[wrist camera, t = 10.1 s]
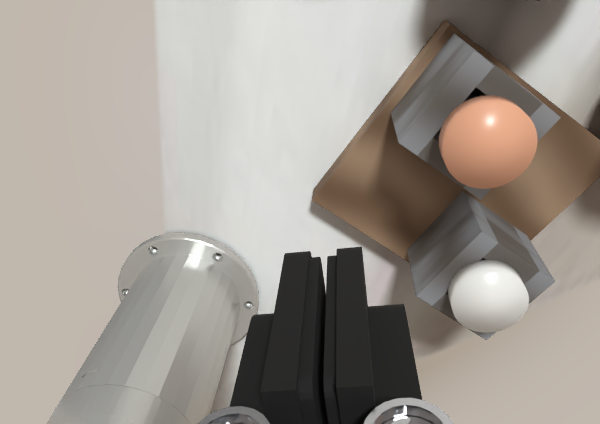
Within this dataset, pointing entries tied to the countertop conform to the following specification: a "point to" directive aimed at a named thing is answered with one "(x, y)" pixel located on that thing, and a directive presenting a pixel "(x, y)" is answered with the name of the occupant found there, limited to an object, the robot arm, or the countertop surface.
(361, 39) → the countertop surface
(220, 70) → the countertop surface
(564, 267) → the countertop surface
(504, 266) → the white round part
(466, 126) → the orange rounded piece
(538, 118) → the board
